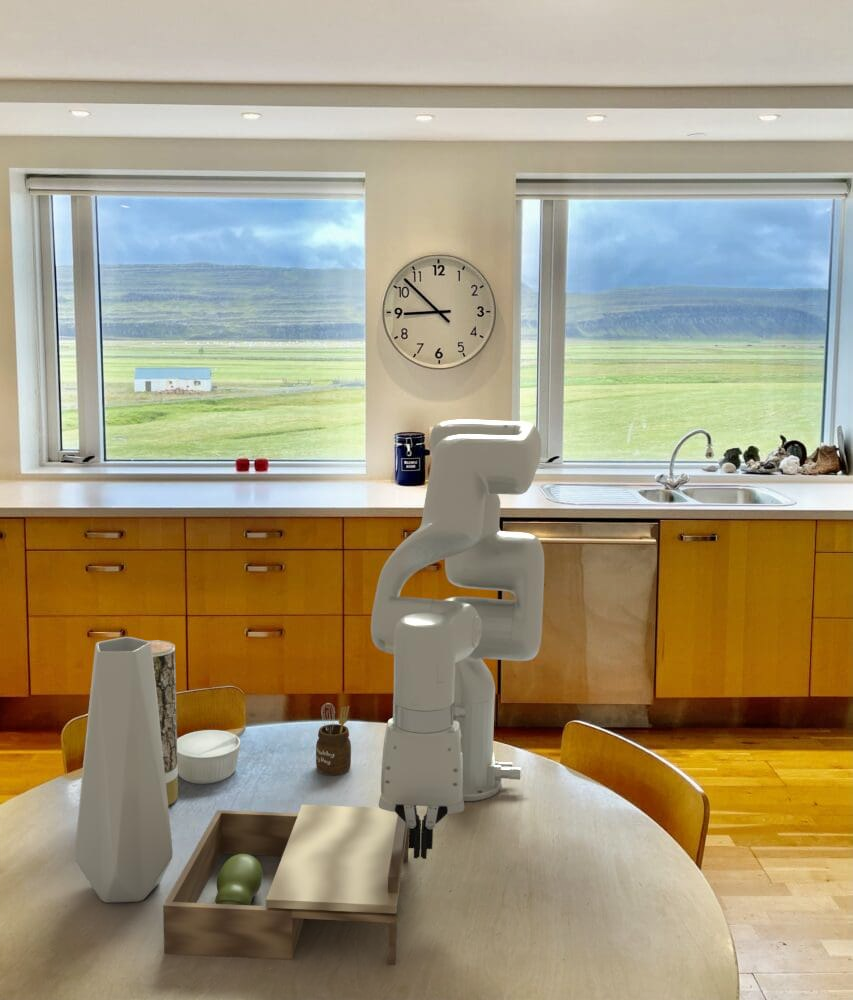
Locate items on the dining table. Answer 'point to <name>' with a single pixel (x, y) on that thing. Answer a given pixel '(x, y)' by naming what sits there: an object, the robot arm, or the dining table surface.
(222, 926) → the wooden box
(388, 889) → the lid
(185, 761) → the ramekin
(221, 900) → the pear
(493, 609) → the robot arm
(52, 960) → the dining table surface
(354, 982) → the dining table surface
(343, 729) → the utensil holder
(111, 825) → the vase
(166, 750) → the paper tube
